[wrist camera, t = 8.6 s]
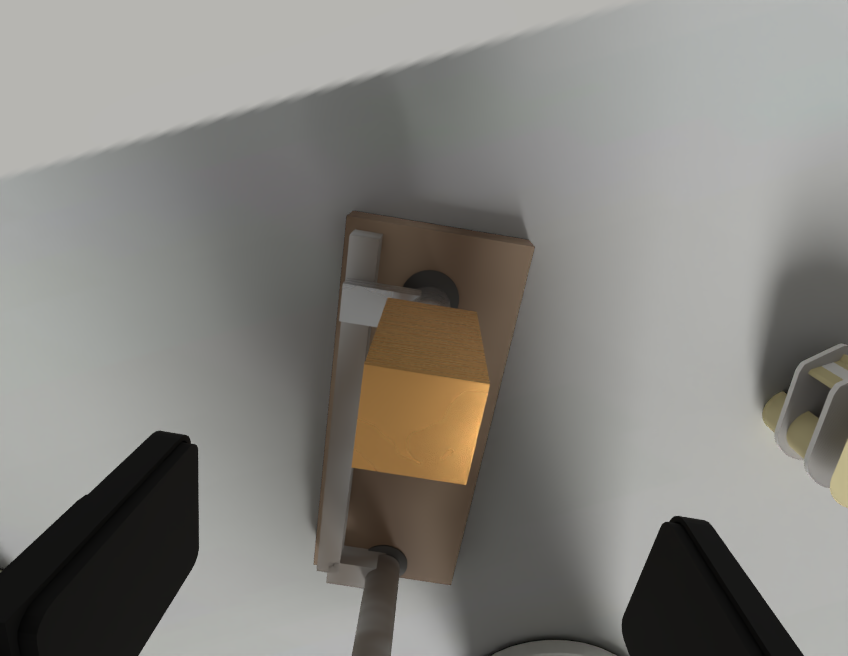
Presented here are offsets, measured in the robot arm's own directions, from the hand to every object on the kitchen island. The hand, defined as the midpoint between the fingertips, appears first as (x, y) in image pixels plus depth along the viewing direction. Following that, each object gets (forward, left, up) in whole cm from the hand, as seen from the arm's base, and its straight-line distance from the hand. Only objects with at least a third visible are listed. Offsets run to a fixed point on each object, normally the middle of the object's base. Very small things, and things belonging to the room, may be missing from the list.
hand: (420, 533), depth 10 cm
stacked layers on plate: (-20, +2, -15) cm, 25 cm away
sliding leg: (+1, -1, -12) cm, 12 cm away
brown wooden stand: (0, +6, -14) cm, 16 cm away
